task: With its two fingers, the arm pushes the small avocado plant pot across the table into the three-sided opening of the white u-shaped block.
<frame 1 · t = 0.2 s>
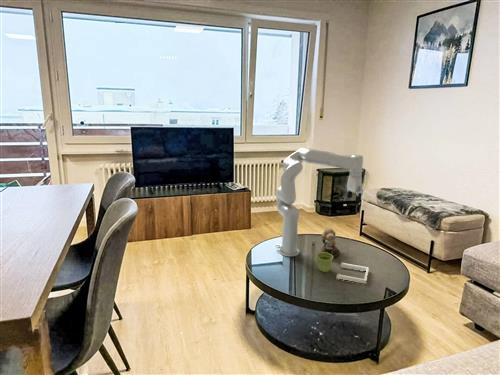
hand: (353, 199, 222), 31 cm above the table, tool pointing down, fingers open, 9 cm apart
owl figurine: (329, 253, 216), on the table
plant pot: (324, 270, 196), on the table
white u-shaped block: (352, 275, 189), on the table
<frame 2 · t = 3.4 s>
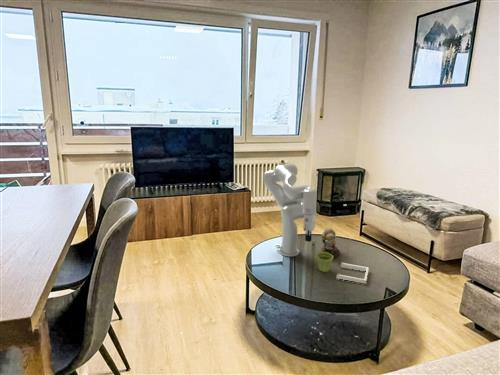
hand: (308, 240, 195), 16 cm above the table, tool pointing down, fingers closed
nothing on the table moved.
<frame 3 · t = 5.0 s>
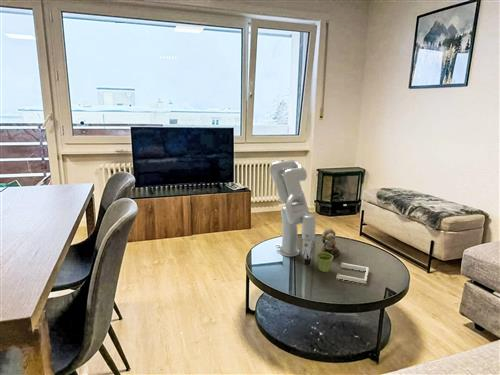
hand: (307, 264, 199), 1 cm above the table, tool pointing down, fingers closed
nothing on the table moved.
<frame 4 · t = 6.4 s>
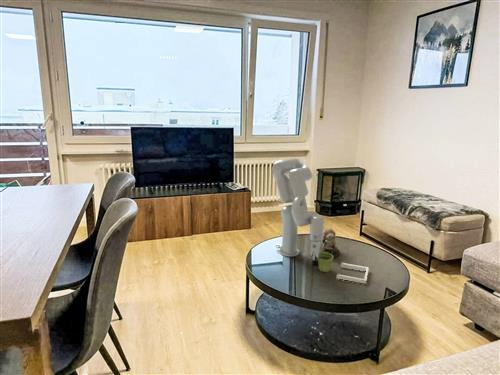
hand: (315, 265, 197), 2 cm above the table, tool pointing down, fingers closed
plant pot: (324, 270, 196), on the table, touching gripper
everything else where it was.
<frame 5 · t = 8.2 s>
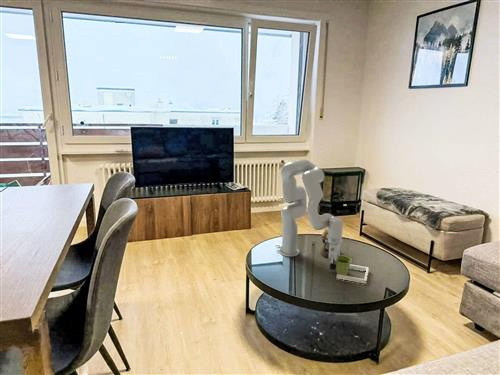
hand: (332, 269, 193), 1 cm above the table, tool pointing down, fingers closed
plant pot: (342, 273, 192), on the table, touching gripper
everything else where it was.
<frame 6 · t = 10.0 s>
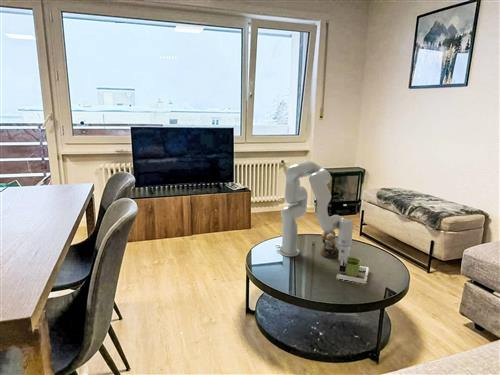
hand: (342, 271, 191), 1 cm above the table, tool pointing down, fingers closed
plant pot: (351, 275, 190), on the table, touching gripper
everything else where it was.
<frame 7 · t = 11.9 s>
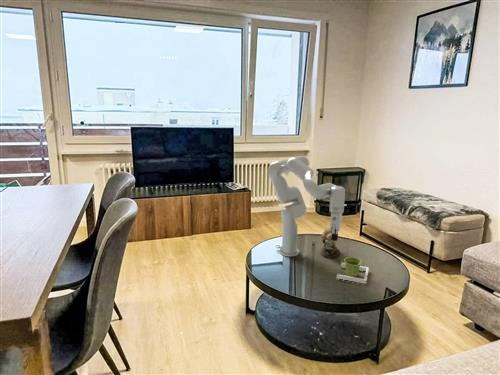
hand: (334, 239, 189), 19 cm above the table, tool pointing down, fingers closed
plant pot: (351, 275, 190), on the table
everything else where it was.
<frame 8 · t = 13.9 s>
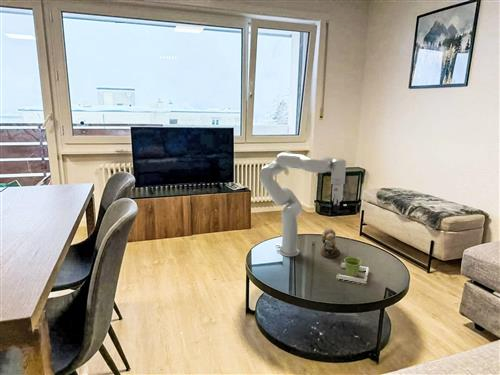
hand: (336, 211, 197), 32 cm above the table, tool pointing down, fingers closed
nothing on the table moved.
at the end: plant pot inside the target area on the white u-shaped block (2.3 cm from its centre), point 0.0 cm above the white u-shaped block's base; plant pot tilted 0° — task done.
